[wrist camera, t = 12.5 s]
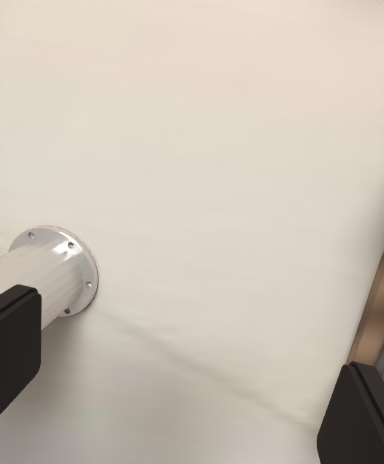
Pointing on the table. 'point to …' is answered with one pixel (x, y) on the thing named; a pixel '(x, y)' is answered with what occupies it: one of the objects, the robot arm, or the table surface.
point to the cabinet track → (372, 327)
